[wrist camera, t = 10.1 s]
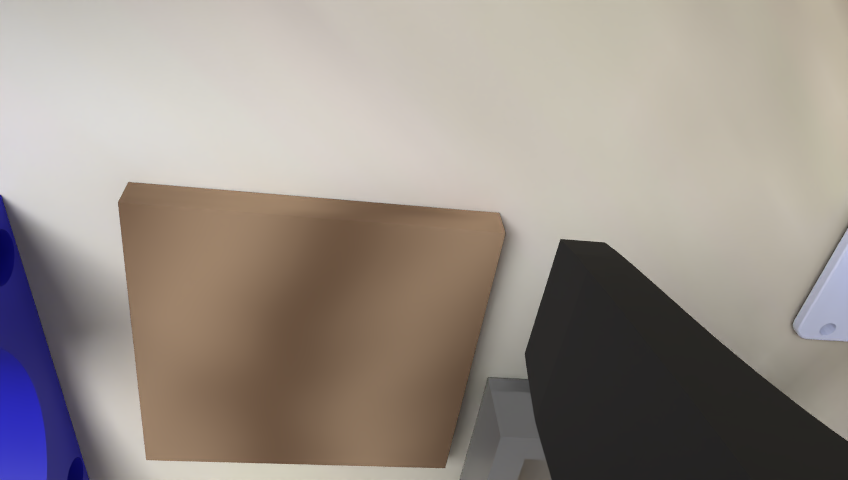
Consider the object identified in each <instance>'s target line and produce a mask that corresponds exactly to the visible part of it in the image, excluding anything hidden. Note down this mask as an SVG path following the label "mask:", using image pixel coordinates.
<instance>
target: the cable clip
mask: <svg viewBox="0 0 848 480" xmlns="http://www.w3.org/2000/svg"><path fill="white" fill-rule="evenodd" d="M0 480H89V477H88V474H87V471H86V467H85V464H84V461H83V458H82V454H81V451H80V448H79V445H78V441H77V438H76V435H75V432H74V429H73V425H72V422H71V419H70V416H69V412H68V409H67V406H66V403H65V400H64V396H63V393H62V390H61V387H60V383H59V380H58V377H57V374H56V370H55V367H54V364H53V361H52V358H51V354H50V351H49V348H48V345H47V341H46V338H45V335H44V332H43V329H42V325H41V322H40V319H39V316H38V312H37V309H36V306H35V303H34V299H33V296H32V293H31V290H30V287H29V283H28V280H27V277H26V274H25V270H24V267H23V264H22V261H21V258H20V254H19V251H18V248H17V245H16V241H15V238H14V235H13V232H12V229H11V225H10V222H9V219H8V216H7V212H6V209H5V206H4V203H3V199H2V196H1V195H0Z"/></svg>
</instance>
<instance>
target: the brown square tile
mask: <svg viewBox="0 0 848 480" xmlns="http://www.w3.org/2000/svg"><path fill="white" fill-rule="evenodd" d="M118 207H119V216H120V225H121V234H122V243H123V252H124V262H125V271H126V280H127V289H128V298H129V307H130V316H131V325H132V334H133V344H134V353H135V362H136V371H137V380H138V389H139V398H140V407H141V417H142V426H143V435H144V444H145V453H146V460H163V461H200V462H237V463H274V464H311V465H348V466H385V467H422V468H445V466H446V462H447V458H448V455H449V451H450V447H451V443H452V439H453V435H454V431H455V427H456V423H457V420H458V416H459V412H460V408H461V404H462V400H463V396H464V392H465V388H466V385H467V381H468V377H469V373H470V369H471V365H472V361H473V357H474V353H475V350H476V346H477V342H478V338H479V334H480V330H481V326H482V322H483V318H484V315H485V311H486V307H487V303H488V299H489V295H490V291H491V287H492V283H493V280H494V276H495V272H496V268H497V264H498V260H499V256H500V252H501V248H502V245H503V241H504V237H505V230H504V227H503V223H502V220H501V217H500V214H499V213H492V212H480V211H468V210H456V209H444V208H432V207H420V206H408V205H396V204H384V203H372V202H360V201H348V200H336V199H324V198H312V197H300V196H288V195H276V194H264V193H252V192H240V191H228V190H216V189H204V188H192V187H180V186H168V185H156V184H144V183H132V182H128V184H127V186H126V188H125V190H124V192H123V194H122V196H121V198H120V200H119V201H118Z"/></svg>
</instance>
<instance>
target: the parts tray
mask: <svg viewBox="0 0 848 480" xmlns="http://www.w3.org/2000/svg"><path fill="white" fill-rule="evenodd" d="M460 480H552V479H551V476H550V472H549V469H548V465H547V462H546V459H545V455H544V452H543V448H542V445H541V441H540V438H539V434H538V430H537V427H536V423H535V418H534V412H533V406H532V400H531V394H530V388H529V380H528V379H506V378H488V380H487V384H486V387H485V391H484V394H483V398H482V402H481V405H480V409H479V412H478V416H477V419H476V423H475V427H474V430H473V434H472V437H471V441H470V444H469V448H468V452H467V455H466V459H465V462H464V466H463V470H462V473H461V477H460Z"/></svg>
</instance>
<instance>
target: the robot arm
mask: <svg viewBox="0 0 848 480" xmlns="http://www.w3.org/2000/svg"><path fill="white" fill-rule="evenodd" d="M793 329H794V330H795V331H796V333H797V334H798V335H799V336H800V337H801V338H804V339H815V340H832V341H848V229H847V231H846V232H845V234H844V236H843V237H842V239H841V241H840V243H839V244H838V246H837V248H836V249H835V251H834V253H833V255H832V256H831V258H830V260H829V262H828V263H827V265H826V267H825V268H824V270H823V272H822V274H821V275H820V277H819V279H818V280H817V282H816V284H815V286H814V287H813V289H812V291H811V292H810V294H809V296H808V298H807V299H806V301H805V303H804V304H803V306H802V308H801V310H800V311H799V313H798V315H797V317H796V318H795V320H794V323H793ZM525 358H526V366H527V373H528V380H529V388H530V394H531V400H532V406H533V412H534V418H535V423H536V427H537V430H538V434H539V438H540V441H541V445H542V448H543V452H544V455H545V459H546V462H547V465H548V469H549V472H550V476H551V479H552V480H848V441H847V440H845V439H844V438H842V437H841V436H839V435H838V434H837V433H835V432H834V431H832V430H831V429H830V428H828V427H827V426H826V425H824V424H823V423H822V422H820V421H819V420H817V419H816V418H815V417H813V416H812V415H811V414H809V413H808V412H807V411H805V410H804V409H803V408H801V407H800V406H799V405H798V404H796V403H795V402H794V401H793V400H791V399H790V398H789V397H787V396H786V395H785V394H784V393H782V392H781V391H780V390H779V389H777V388H776V387H775V386H773V385H772V384H771V383H770V382H768V381H767V380H766V379H765V378H763V377H762V376H761V375H759V374H758V373H757V372H756V371H755V370H753V369H752V368H751V367H750V366H748V365H747V364H746V363H745V362H744V361H742V360H741V359H740V358H739V357H738V356H736V355H735V354H734V353H733V352H732V351H730V350H729V349H728V348H727V347H726V346H725V345H723V344H722V343H721V342H720V341H719V340H717V339H716V338H715V337H714V336H713V335H712V334H711V333H709V332H708V331H707V330H706V329H705V328H704V327H702V326H701V325H700V324H699V323H698V322H697V321H696V320H694V319H693V318H692V317H691V316H690V315H689V314H688V313H686V312H685V311H684V310H683V309H682V308H681V307H680V306H679V305H677V304H676V303H675V302H674V301H673V300H672V299H671V298H670V297H668V296H667V295H666V294H665V293H664V292H663V291H662V290H661V289H659V288H658V287H657V286H656V285H655V284H654V283H653V282H652V281H650V280H649V279H648V278H647V277H646V276H645V275H644V274H643V273H641V272H640V271H639V270H638V269H637V268H636V267H634V266H633V265H632V264H631V263H630V262H629V261H627V260H626V259H625V258H624V257H623V256H622V255H620V254H619V253H618V252H617V251H615V250H614V249H613V248H611V247H610V246H609V245H607V244H606V243H603V242H591V241H578V240H565V239H560V242H559V246H558V249H557V252H556V255H555V258H554V262H553V265H552V268H551V271H550V275H549V278H548V281H547V284H546V287H545V291H544V294H543V297H542V300H541V303H540V307H539V310H538V313H537V316H536V319H535V323H534V326H533V329H532V332H531V335H530V339H529V342H528V345H527V348H526V352H525Z"/></svg>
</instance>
